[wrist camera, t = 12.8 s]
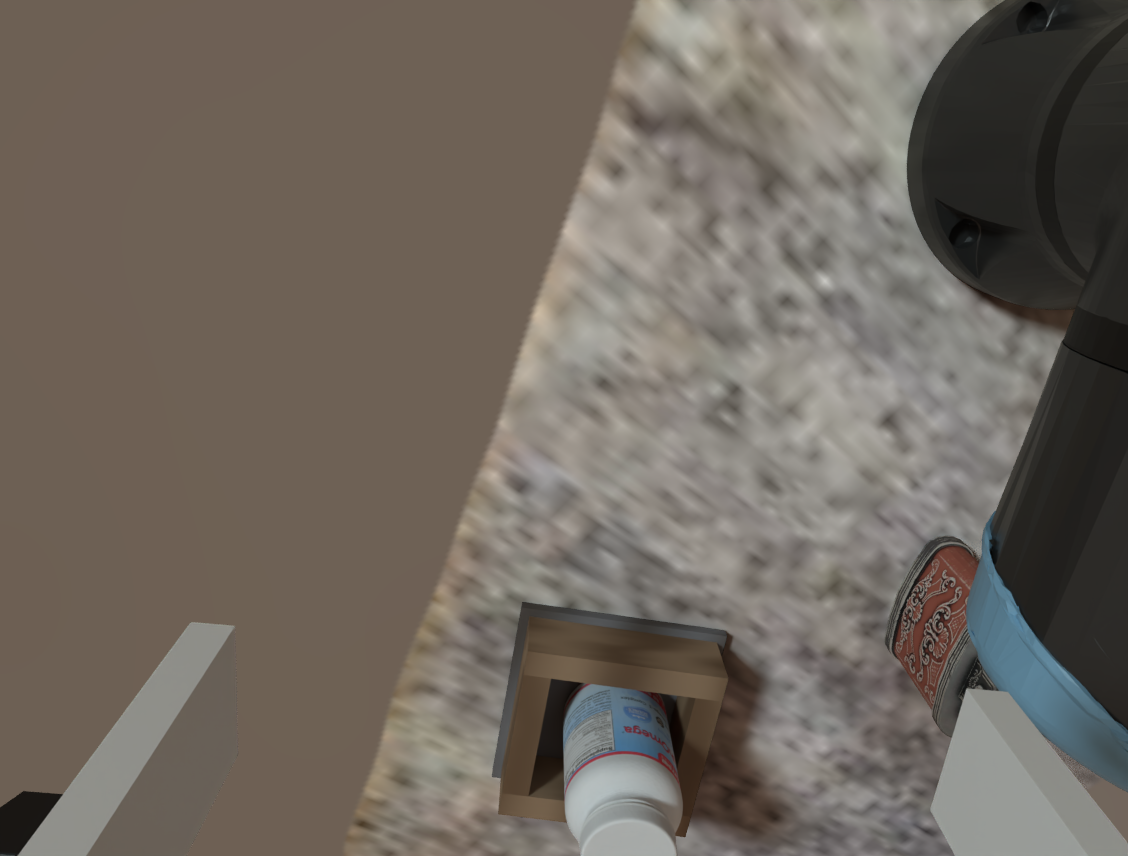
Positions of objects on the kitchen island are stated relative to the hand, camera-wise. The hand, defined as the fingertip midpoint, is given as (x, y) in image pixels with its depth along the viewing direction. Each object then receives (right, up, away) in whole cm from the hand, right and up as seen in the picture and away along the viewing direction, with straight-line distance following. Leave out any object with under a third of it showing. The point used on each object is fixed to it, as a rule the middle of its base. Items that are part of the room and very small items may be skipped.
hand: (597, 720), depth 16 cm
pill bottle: (+2, -11, +36) cm, 38 cm away
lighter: (+20, -4, +35) cm, 41 cm away
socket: (+2, -11, +37) cm, 39 cm away
